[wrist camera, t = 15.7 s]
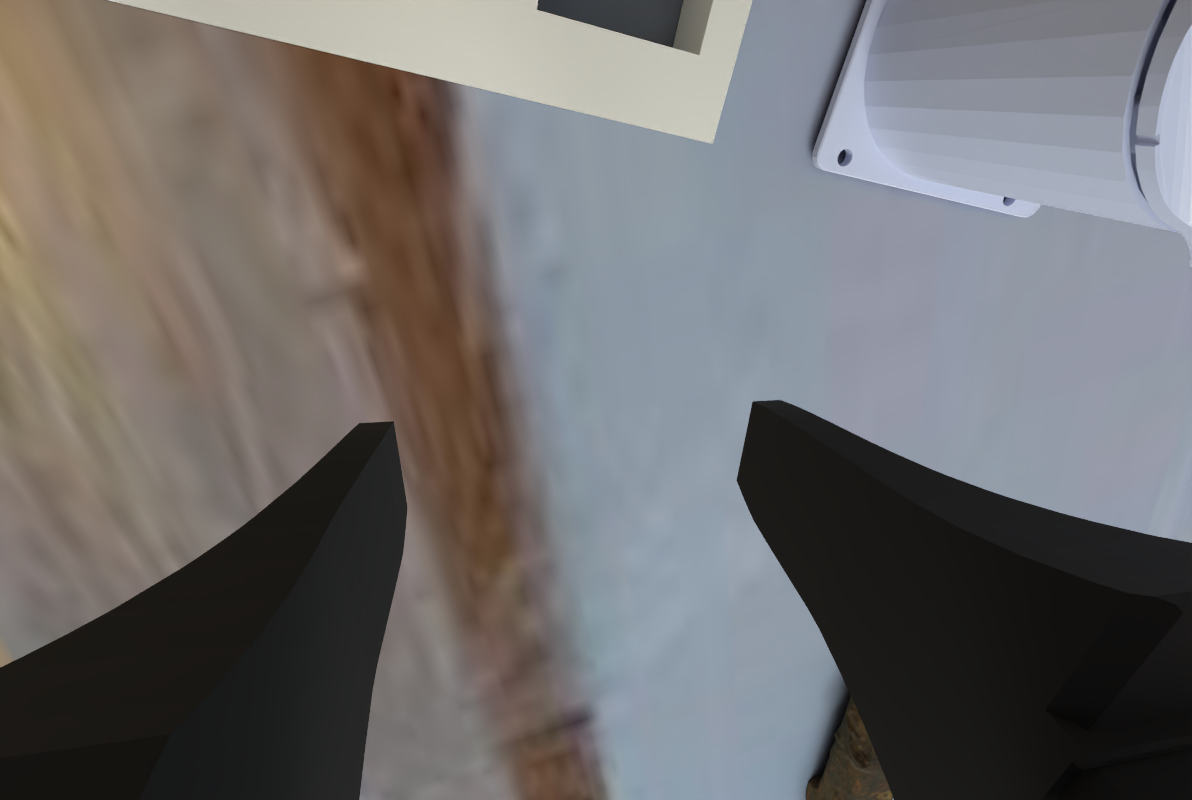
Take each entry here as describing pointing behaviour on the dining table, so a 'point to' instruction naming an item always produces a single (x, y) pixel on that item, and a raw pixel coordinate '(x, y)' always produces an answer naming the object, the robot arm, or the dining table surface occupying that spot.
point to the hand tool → (850, 766)
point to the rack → (514, 51)
